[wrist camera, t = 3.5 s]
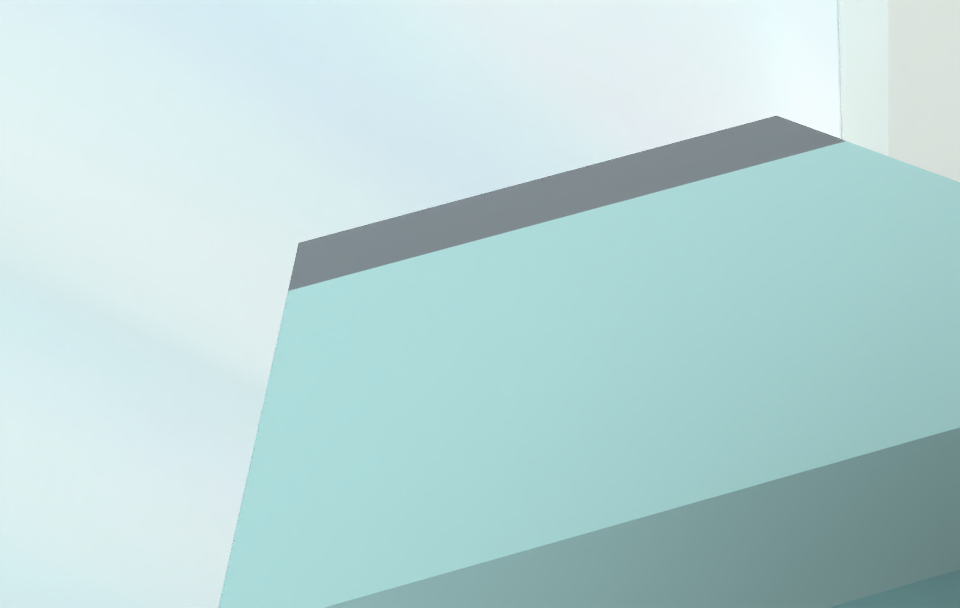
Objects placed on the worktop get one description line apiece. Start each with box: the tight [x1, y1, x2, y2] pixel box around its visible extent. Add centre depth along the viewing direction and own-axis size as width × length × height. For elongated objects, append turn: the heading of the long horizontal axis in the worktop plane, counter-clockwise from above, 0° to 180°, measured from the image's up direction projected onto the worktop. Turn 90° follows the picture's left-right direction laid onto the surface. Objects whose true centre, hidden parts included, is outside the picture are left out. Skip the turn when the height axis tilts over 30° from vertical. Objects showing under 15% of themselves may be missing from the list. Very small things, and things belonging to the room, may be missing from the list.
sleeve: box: [219, 116, 960, 608], centre depth 8 cm, size 6×6×6 cm
